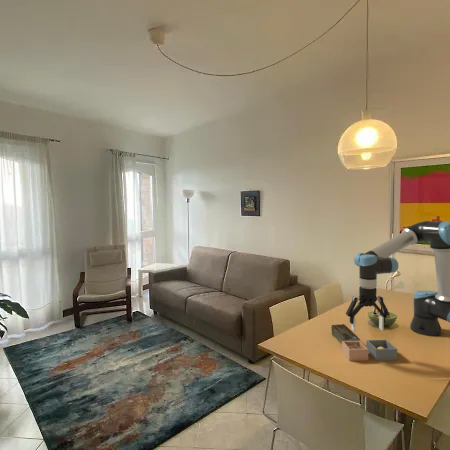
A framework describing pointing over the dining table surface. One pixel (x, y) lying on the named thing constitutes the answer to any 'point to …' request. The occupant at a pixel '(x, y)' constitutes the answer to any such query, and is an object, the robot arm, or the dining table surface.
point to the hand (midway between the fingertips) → (367, 329)
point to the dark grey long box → (343, 333)
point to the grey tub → (381, 350)
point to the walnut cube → (354, 346)
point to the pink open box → (355, 351)
